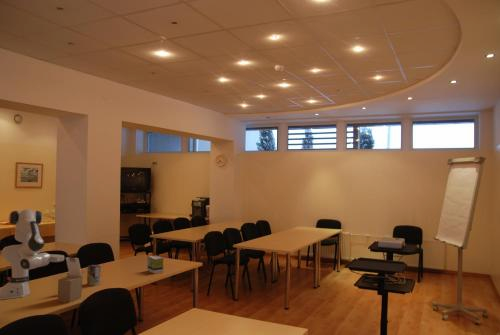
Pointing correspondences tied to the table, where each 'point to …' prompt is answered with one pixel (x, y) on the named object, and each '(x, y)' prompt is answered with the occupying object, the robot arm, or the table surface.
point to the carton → (69, 289)
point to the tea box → (155, 264)
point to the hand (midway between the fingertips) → (58, 255)
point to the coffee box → (93, 275)
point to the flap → (73, 266)
